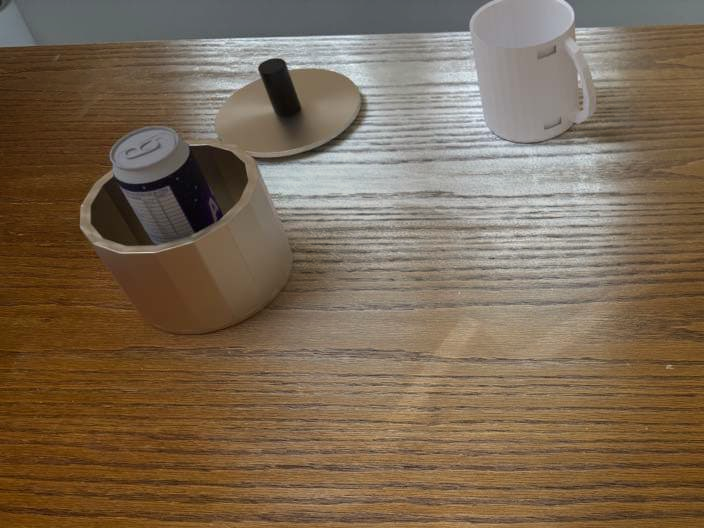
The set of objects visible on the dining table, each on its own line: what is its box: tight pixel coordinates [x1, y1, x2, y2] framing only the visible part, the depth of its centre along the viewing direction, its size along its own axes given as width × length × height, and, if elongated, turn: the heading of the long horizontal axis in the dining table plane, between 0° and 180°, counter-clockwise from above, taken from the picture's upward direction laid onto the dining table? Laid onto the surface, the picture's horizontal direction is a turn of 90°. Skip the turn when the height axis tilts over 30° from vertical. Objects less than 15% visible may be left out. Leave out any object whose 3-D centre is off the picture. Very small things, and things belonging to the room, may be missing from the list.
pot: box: [79, 138, 294, 336], centre depth 66 cm, size 13×13×8 cm
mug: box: [468, 0, 597, 144], centre depth 75 cm, size 12×9×9 cm
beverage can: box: [109, 125, 224, 245], centre depth 64 cm, size 6×6×12 cm
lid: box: [214, 57, 362, 158], centre depth 80 cm, size 14×14×6 cm
